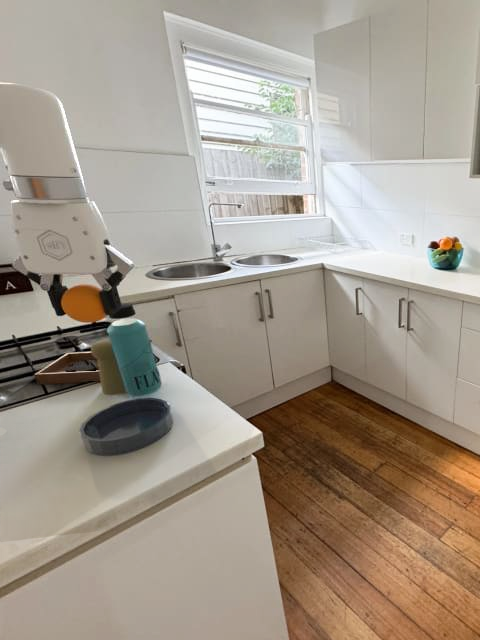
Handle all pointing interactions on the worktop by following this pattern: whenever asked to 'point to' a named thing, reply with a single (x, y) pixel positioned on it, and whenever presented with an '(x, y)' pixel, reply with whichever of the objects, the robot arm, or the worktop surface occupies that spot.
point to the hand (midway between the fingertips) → (89, 311)
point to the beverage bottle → (133, 353)
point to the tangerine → (83, 303)
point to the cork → (108, 367)
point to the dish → (127, 426)
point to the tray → (58, 374)
